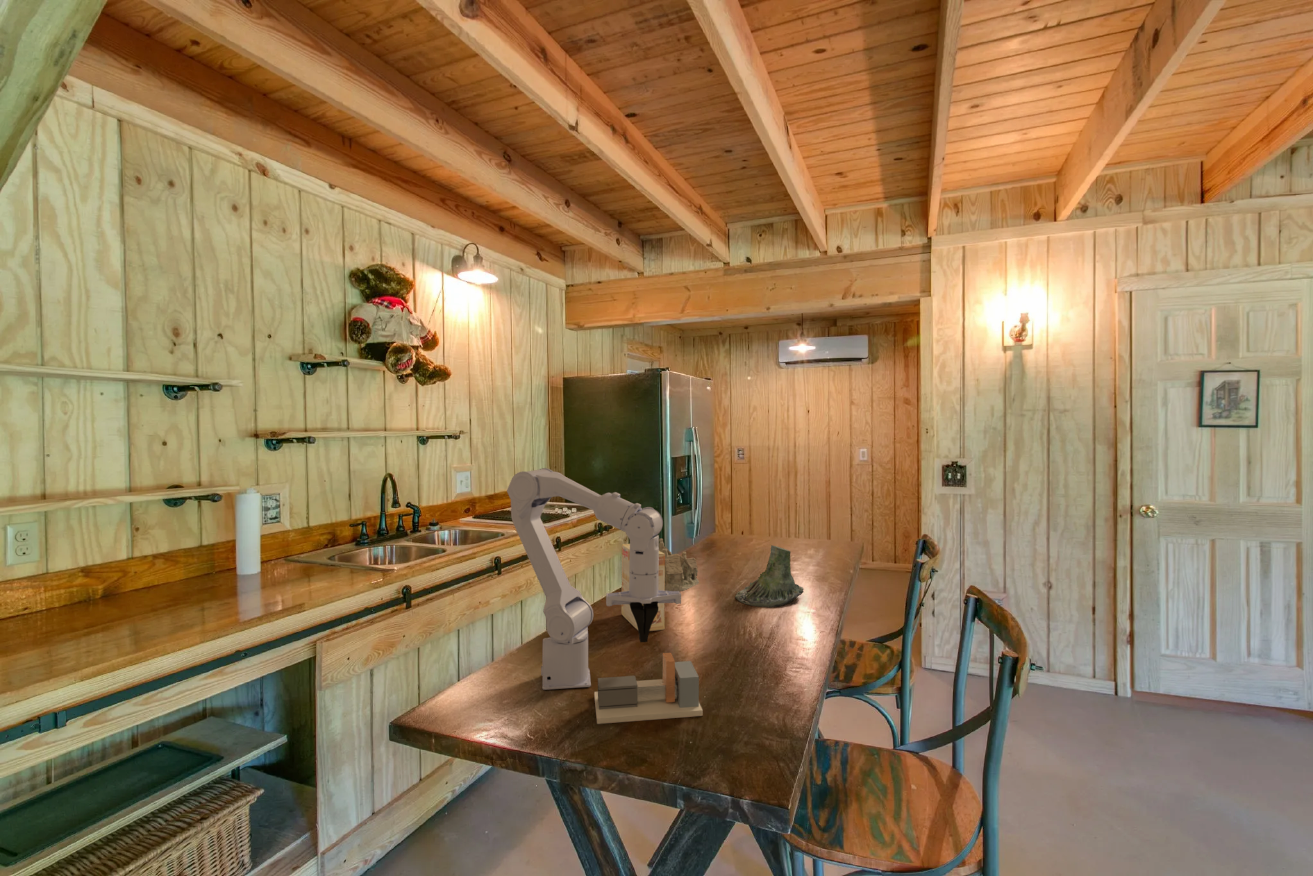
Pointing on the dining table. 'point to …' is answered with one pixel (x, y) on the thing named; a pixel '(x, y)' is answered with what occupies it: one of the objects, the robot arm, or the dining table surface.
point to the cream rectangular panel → (633, 703)
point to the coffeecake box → (626, 610)
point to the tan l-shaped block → (660, 683)
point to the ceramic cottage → (678, 570)
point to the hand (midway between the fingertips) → (643, 640)
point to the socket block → (687, 684)
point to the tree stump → (772, 583)
